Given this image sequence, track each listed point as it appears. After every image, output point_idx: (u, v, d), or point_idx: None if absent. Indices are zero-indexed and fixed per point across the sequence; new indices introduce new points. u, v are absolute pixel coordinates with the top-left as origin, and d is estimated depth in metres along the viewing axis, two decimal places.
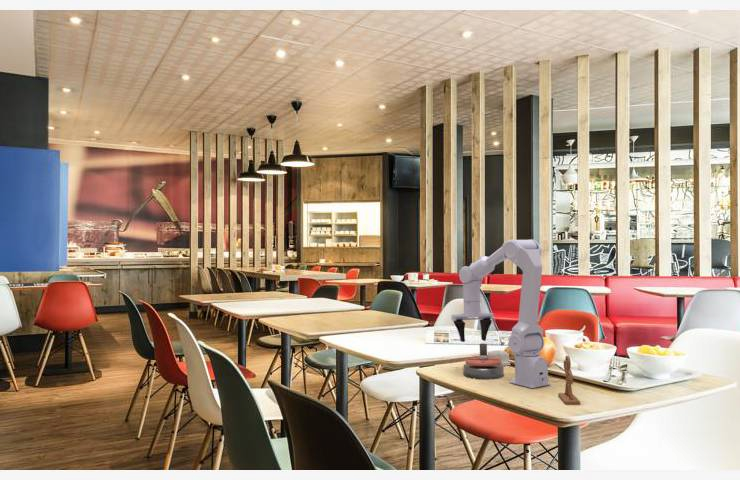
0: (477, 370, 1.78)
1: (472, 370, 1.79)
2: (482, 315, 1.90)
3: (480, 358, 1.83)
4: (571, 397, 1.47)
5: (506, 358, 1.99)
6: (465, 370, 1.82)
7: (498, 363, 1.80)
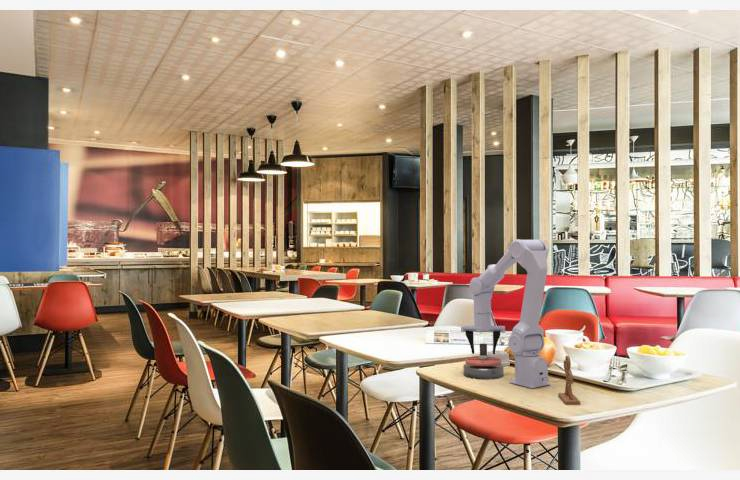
0: (477, 370, 1.78)
1: (472, 370, 1.79)
2: (491, 328, 1.86)
3: (480, 358, 1.83)
4: (571, 397, 1.47)
5: (506, 358, 1.99)
6: (465, 370, 1.82)
7: (498, 363, 1.80)
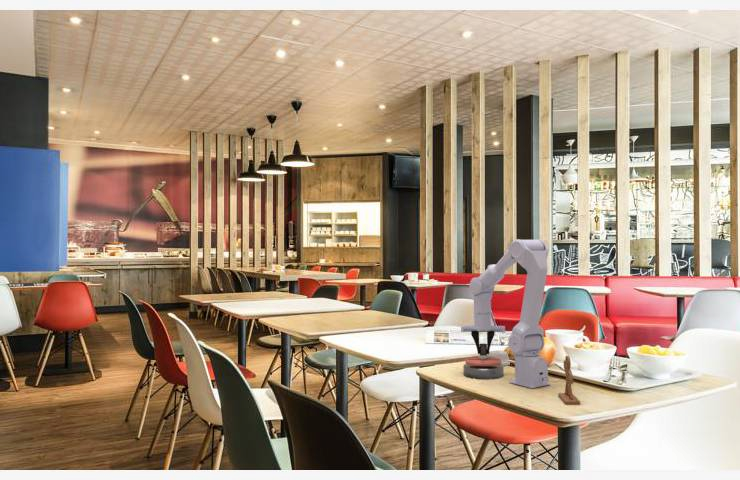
0: (477, 370, 1.78)
1: (472, 370, 1.79)
2: (491, 328, 1.86)
3: (480, 358, 1.83)
4: (571, 397, 1.47)
5: (505, 358, 1.99)
6: (465, 370, 1.82)
7: (498, 363, 1.80)
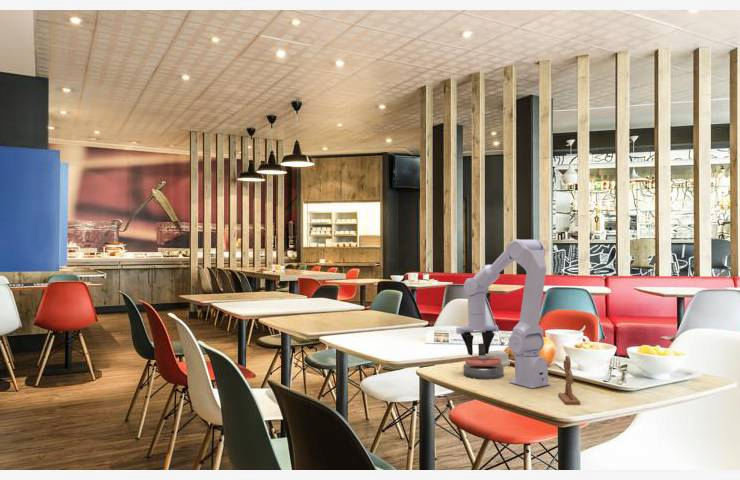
0: (477, 370, 1.78)
1: (472, 370, 1.79)
2: (487, 328, 1.87)
3: (480, 358, 1.83)
4: (571, 397, 1.47)
5: (505, 358, 1.99)
6: (465, 370, 1.82)
7: (499, 363, 1.80)
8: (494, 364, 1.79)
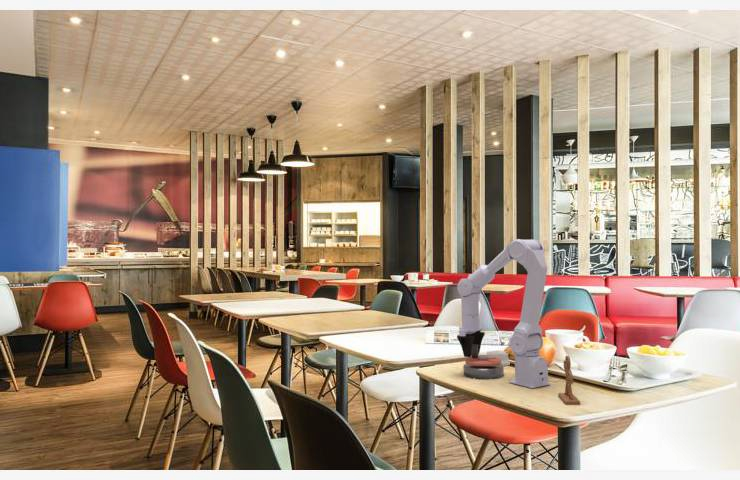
0: (477, 370, 1.78)
1: (472, 370, 1.79)
2: (480, 328, 1.88)
3: (483, 358, 1.82)
4: (571, 397, 1.47)
5: (505, 358, 1.99)
6: (465, 370, 1.82)
7: None
8: (500, 362, 1.81)
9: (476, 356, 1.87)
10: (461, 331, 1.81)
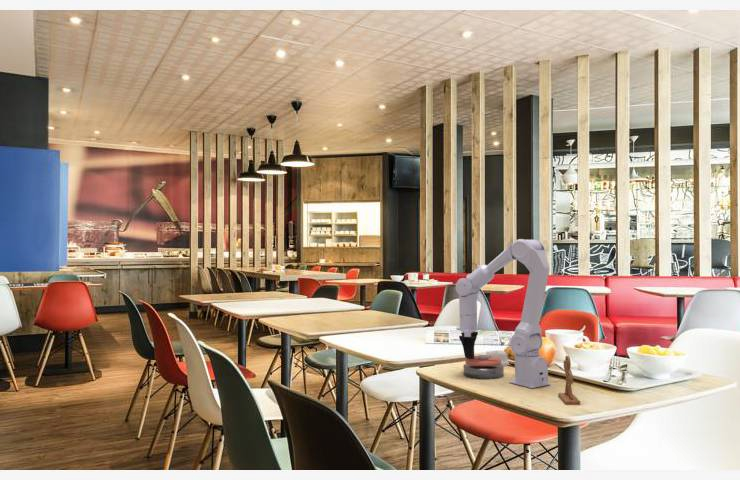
0: (477, 370, 1.78)
1: (472, 370, 1.79)
2: None
3: (485, 358, 1.82)
4: (571, 397, 1.47)
5: (504, 358, 1.99)
6: (465, 370, 1.82)
7: None
8: None
9: (473, 357, 1.86)
10: (467, 331, 1.78)
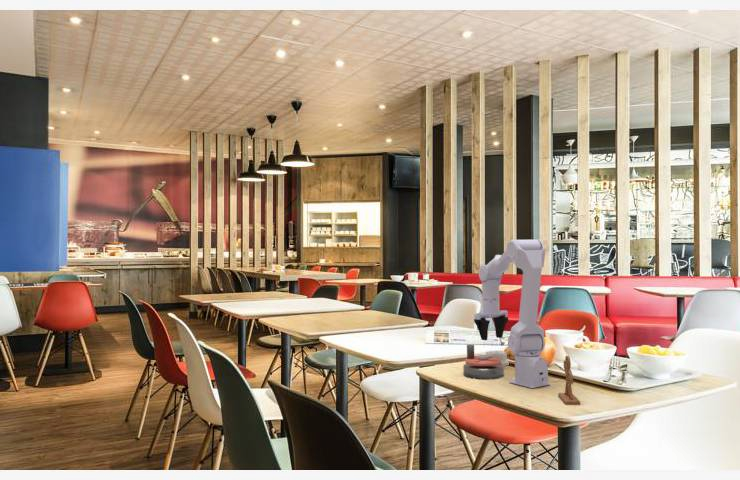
0: (477, 370, 1.78)
1: (472, 370, 1.79)
2: (501, 313, 1.93)
3: (485, 358, 1.82)
4: (571, 397, 1.47)
5: (504, 358, 1.99)
6: (465, 370, 1.82)
7: None
8: None
9: (473, 357, 1.86)
10: (476, 314, 1.89)
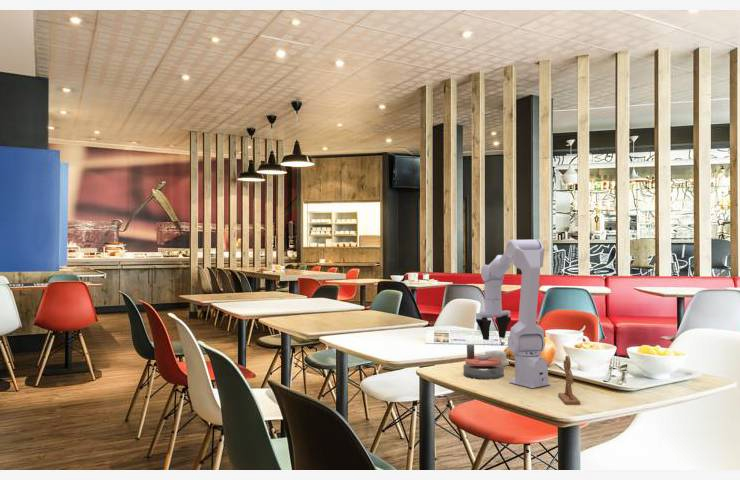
0: (477, 370, 1.78)
1: (472, 370, 1.79)
2: (503, 313, 1.93)
3: (485, 358, 1.82)
4: (571, 397, 1.47)
5: (503, 358, 1.99)
6: (465, 370, 1.82)
7: None
8: None
9: (473, 357, 1.86)
10: (477, 314, 1.90)
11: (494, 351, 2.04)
